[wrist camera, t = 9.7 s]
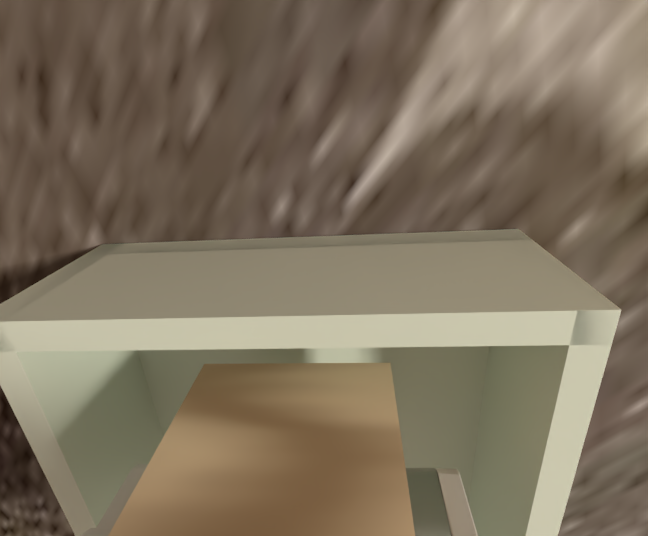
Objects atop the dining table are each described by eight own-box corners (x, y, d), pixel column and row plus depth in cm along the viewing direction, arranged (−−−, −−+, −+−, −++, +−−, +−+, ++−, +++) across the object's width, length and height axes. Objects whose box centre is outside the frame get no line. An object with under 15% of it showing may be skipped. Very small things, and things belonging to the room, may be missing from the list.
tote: (102, 244, 13) (-31, 322, 9) (518, 228, 12) (621, 309, 7) (200, 561, 20) (155, 697, 16) (468, 570, 19) (505, 721, 14)
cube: (232, 489, 12) (163, 717, 8) (204, 363, 10) (89, 569, 6) (389, 493, 12) (411, 736, 7) (390, 362, 10) (421, 583, 5)
